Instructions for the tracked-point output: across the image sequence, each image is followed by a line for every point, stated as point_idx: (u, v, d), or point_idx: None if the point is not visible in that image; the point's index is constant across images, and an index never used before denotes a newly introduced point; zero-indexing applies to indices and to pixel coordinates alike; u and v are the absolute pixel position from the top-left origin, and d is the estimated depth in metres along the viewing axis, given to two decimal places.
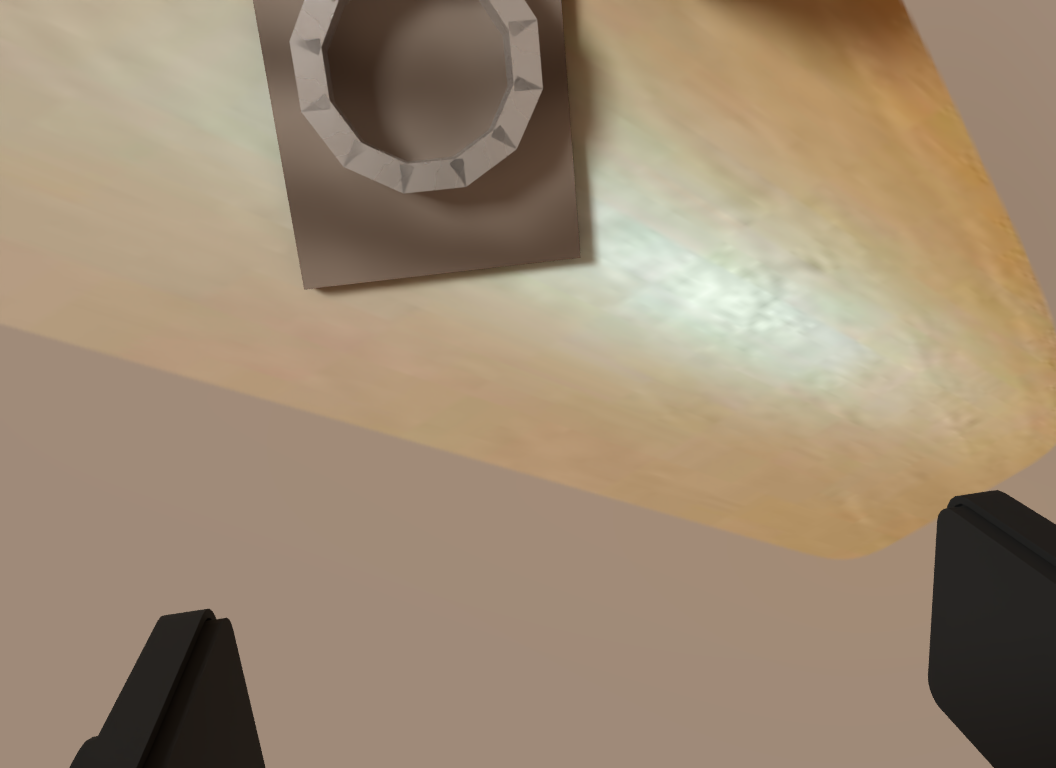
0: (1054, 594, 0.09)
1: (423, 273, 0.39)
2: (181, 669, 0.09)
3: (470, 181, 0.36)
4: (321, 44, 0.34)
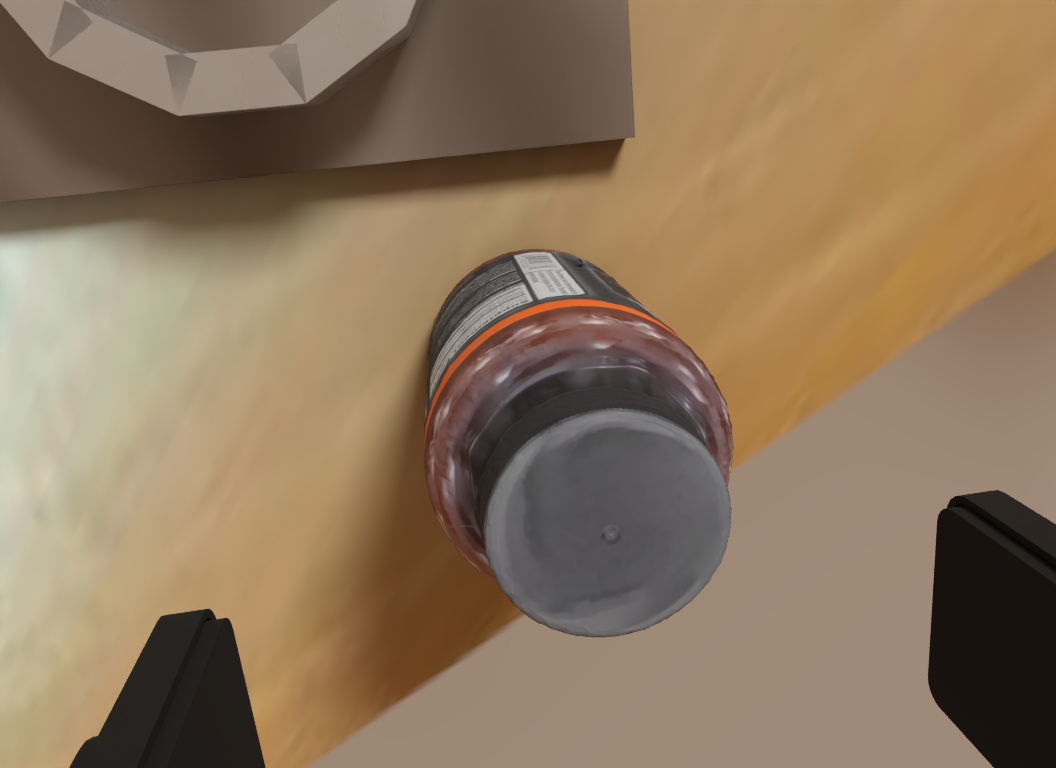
0: (1054, 594, 0.09)
1: None
2: (181, 669, 0.09)
3: None
4: None
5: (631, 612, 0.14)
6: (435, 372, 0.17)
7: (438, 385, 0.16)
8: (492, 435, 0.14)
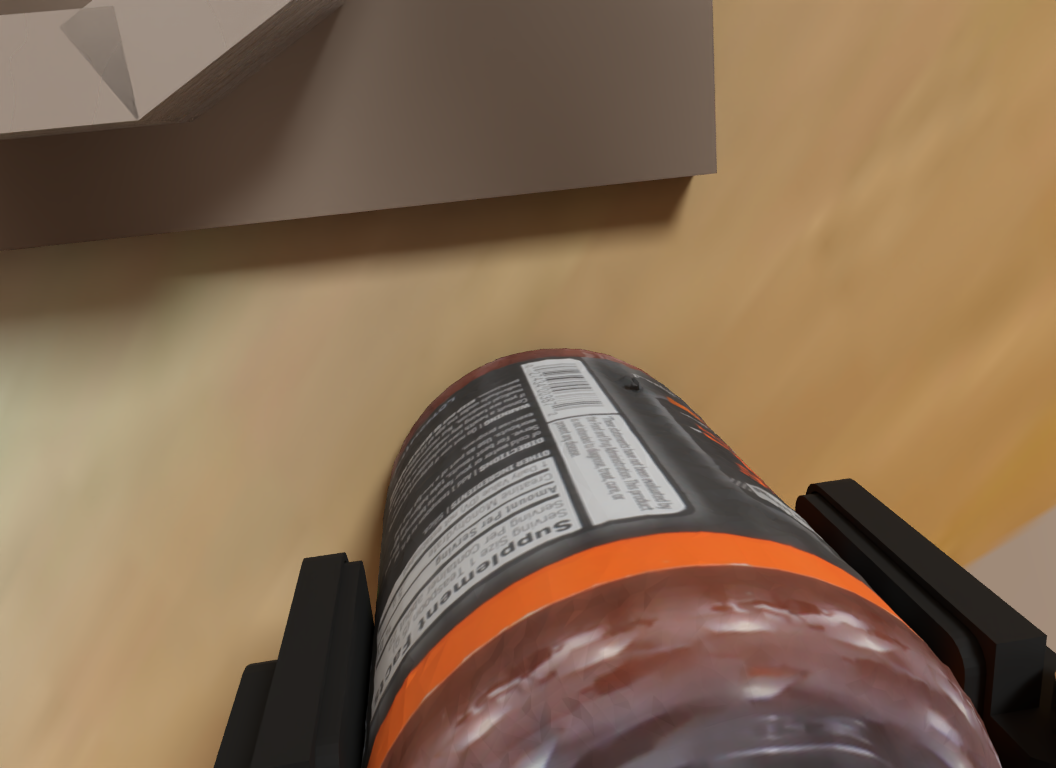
0: (873, 572, 0.10)
1: None
2: (336, 600, 0.10)
3: None
4: None
5: None
6: (385, 639, 0.09)
7: (386, 706, 0.08)
8: None
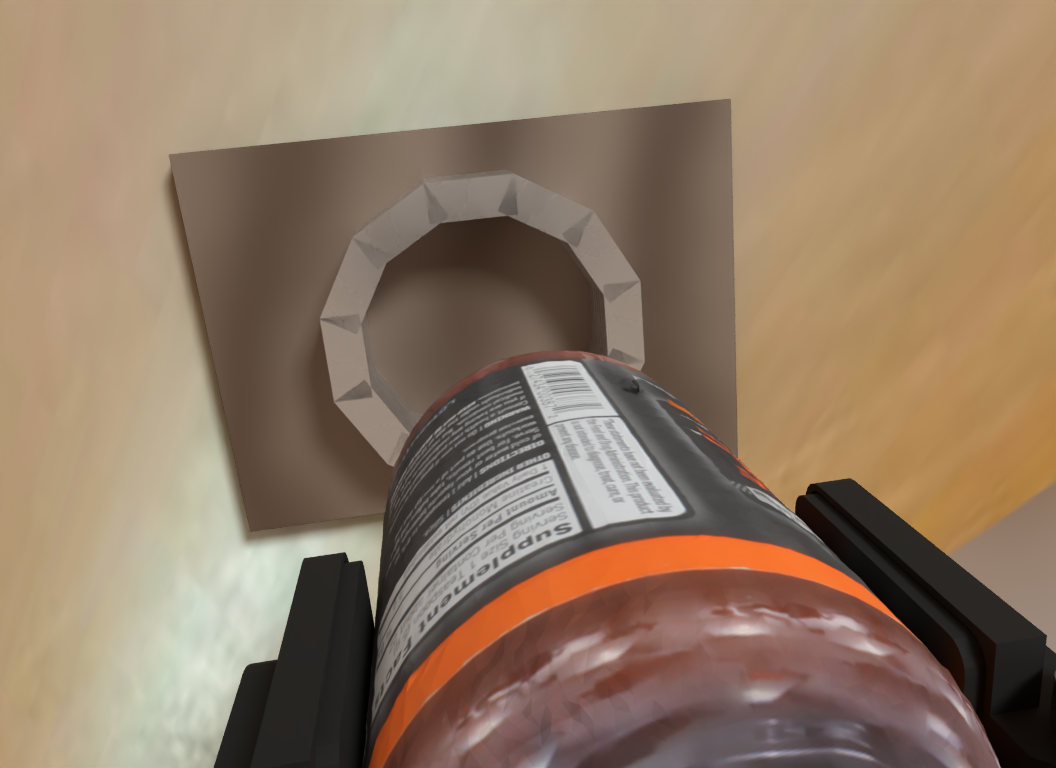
0: (873, 571, 0.10)
1: (209, 327, 0.28)
2: (336, 600, 0.10)
3: (341, 407, 0.26)
4: (510, 216, 0.25)
5: None
6: (385, 642, 0.09)
7: (387, 709, 0.08)
8: None
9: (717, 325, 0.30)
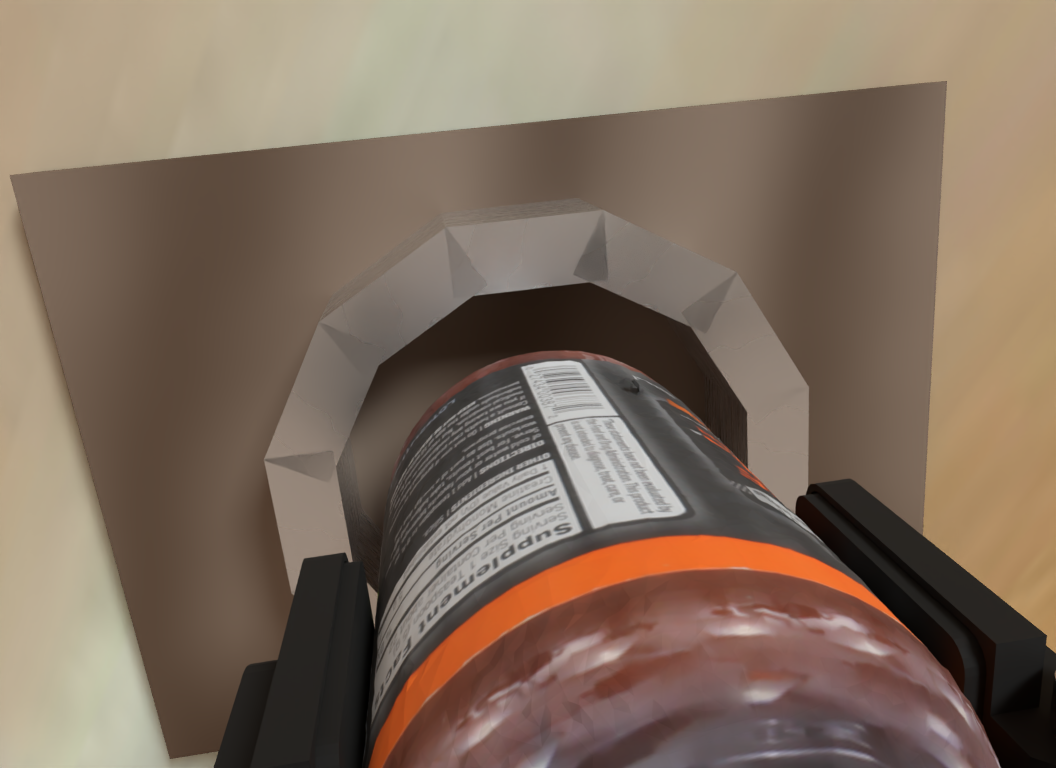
0: (873, 572, 0.10)
1: (92, 455, 0.17)
2: (336, 600, 0.10)
3: None
4: (595, 282, 0.15)
5: None
6: (385, 643, 0.09)
7: (387, 710, 0.08)
8: None
9: (900, 438, 0.19)
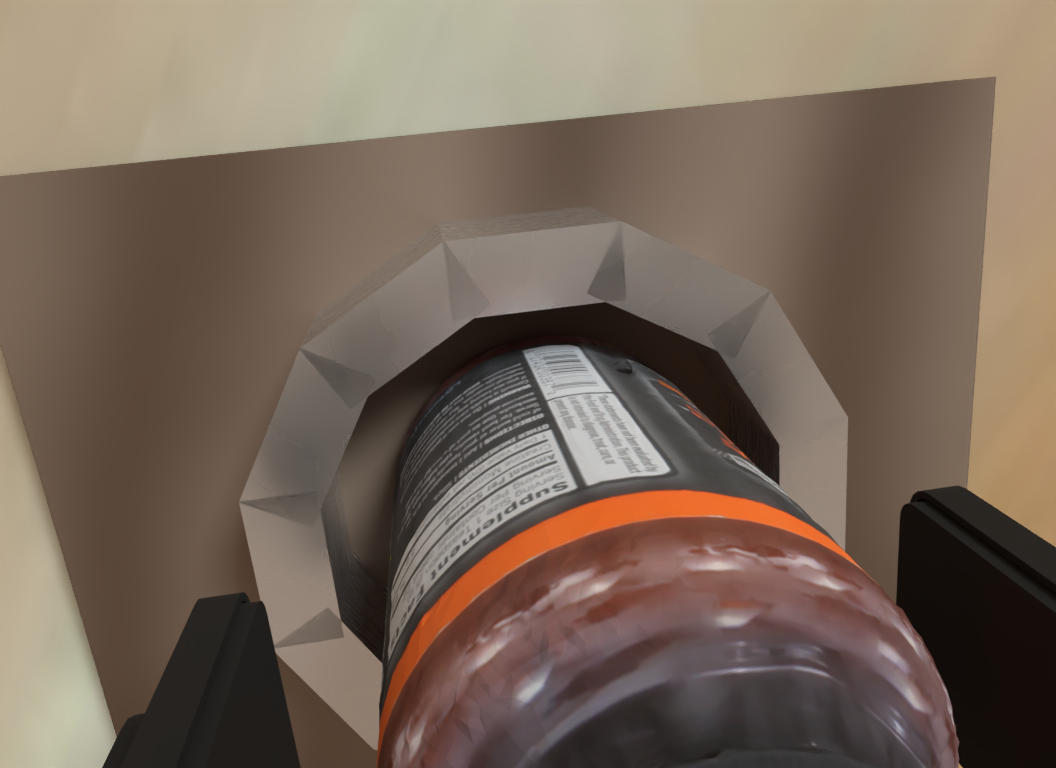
0: (1006, 585, 0.09)
1: (50, 492, 0.15)
2: (222, 648, 0.09)
3: (285, 657, 0.14)
4: (611, 302, 0.13)
5: None
6: (399, 593, 0.10)
7: (402, 647, 0.09)
8: None
9: (939, 467, 0.17)
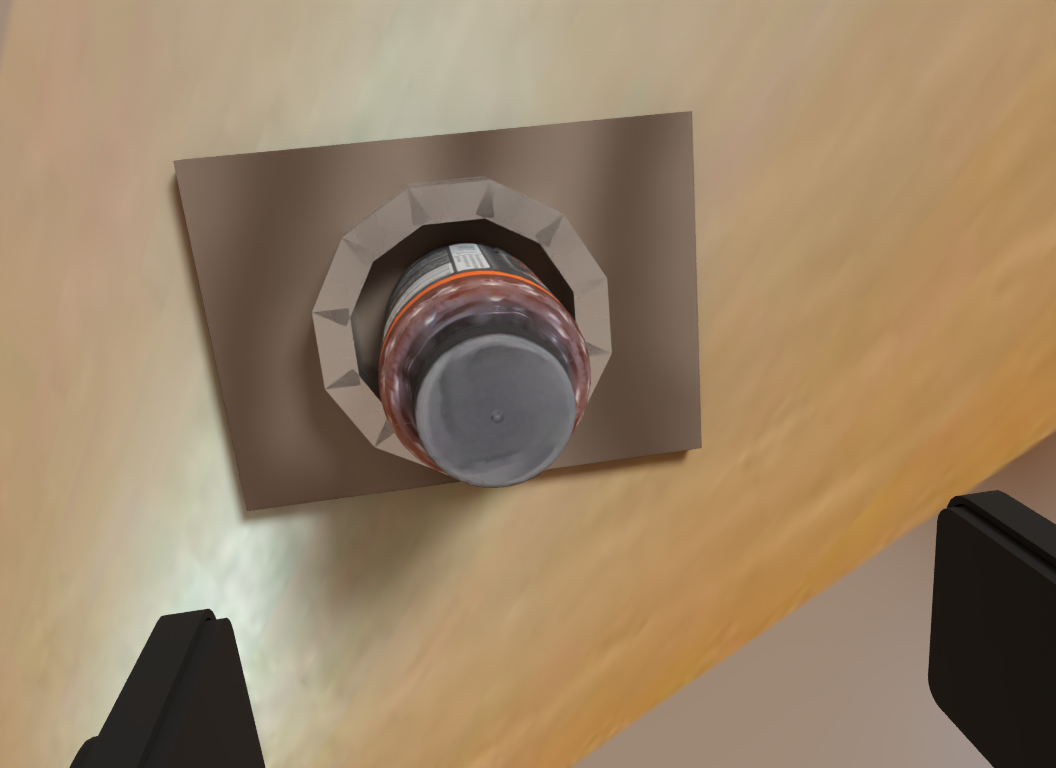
0: (1054, 594, 0.09)
1: (210, 320, 0.30)
2: (181, 669, 0.09)
3: (332, 394, 0.29)
4: (487, 218, 0.28)
5: (512, 469, 0.21)
6: (387, 324, 0.25)
7: (388, 331, 0.23)
8: (422, 358, 0.21)
9: (681, 320, 0.32)
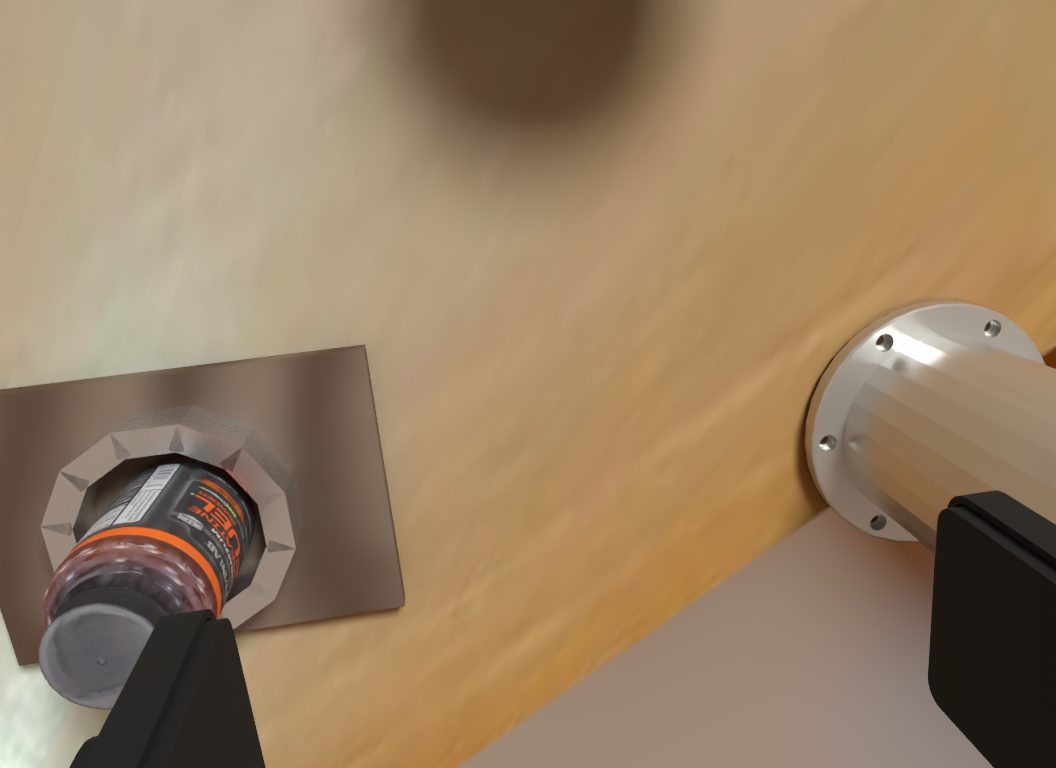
0: (1054, 594, 0.09)
1: None
2: (181, 669, 0.09)
3: None
4: (179, 452, 0.35)
5: None
6: None
7: None
8: None
9: (374, 508, 0.39)
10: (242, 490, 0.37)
